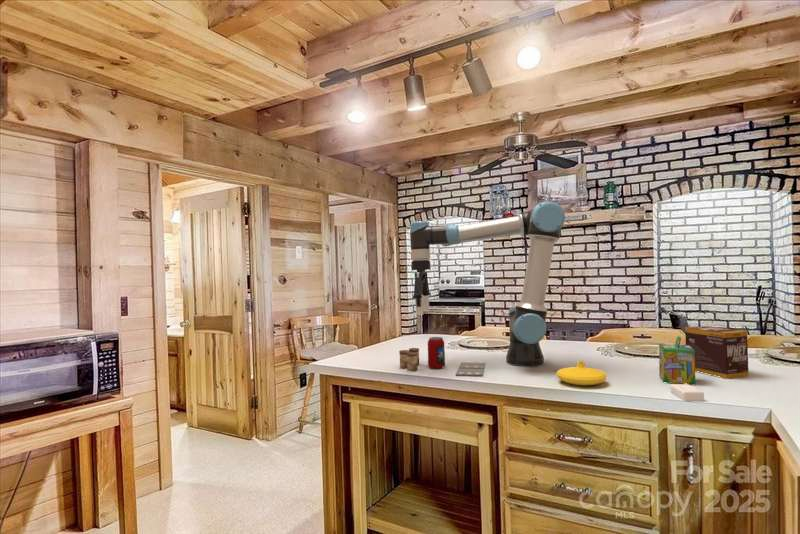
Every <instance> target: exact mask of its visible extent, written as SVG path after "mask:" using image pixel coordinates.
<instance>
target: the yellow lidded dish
mask: <svg viewBox="0 0 800 534" xmlns="http://www.w3.org/2000/svg"><path fill="white" fill-rule="evenodd" d="M576 363H577V364H576V366H571V367H569V366H568V367H563V368H560V369H558V371H556V376H557V378H558V379H559V380H561V381H563V382H565V383H567V384H570V385H575V386H576V385H577V386H596V385H598V384H601V383H603V382H605V381H606V380H607V377H608V375H607V374H606V373H605V372H604V371H602V370H600V369H597V368H591V367H586V366H585V361H577V362H576Z"/></svg>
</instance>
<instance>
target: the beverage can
mask: <svg viewBox="0 0 800 534" xmlns="http://www.w3.org/2000/svg"><path fill="white" fill-rule="evenodd" d="M445 349H446V348H445V341H444V339H443V337H441V336H430V337H429V338H428V341H427V359H428V360H427V363H428V367H429V368H431V369H432V370H441V369H443V368H444V367H446V351H445Z"/></svg>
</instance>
